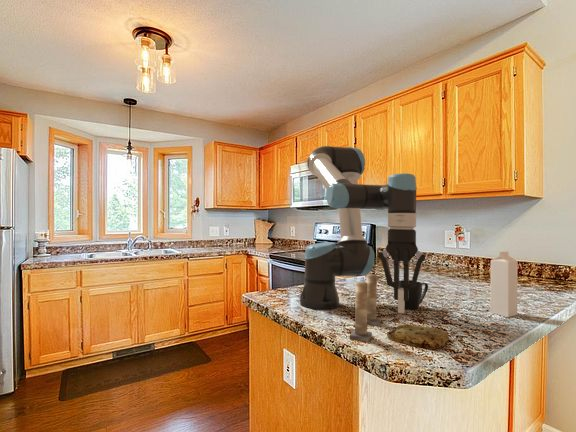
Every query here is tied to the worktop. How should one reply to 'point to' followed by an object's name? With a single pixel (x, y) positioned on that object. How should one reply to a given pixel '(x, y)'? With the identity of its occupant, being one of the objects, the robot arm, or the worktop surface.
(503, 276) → the milk
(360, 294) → the post
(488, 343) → the worktop surface
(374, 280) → the post
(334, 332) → the worktop surface
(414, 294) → the mug
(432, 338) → the pastry
